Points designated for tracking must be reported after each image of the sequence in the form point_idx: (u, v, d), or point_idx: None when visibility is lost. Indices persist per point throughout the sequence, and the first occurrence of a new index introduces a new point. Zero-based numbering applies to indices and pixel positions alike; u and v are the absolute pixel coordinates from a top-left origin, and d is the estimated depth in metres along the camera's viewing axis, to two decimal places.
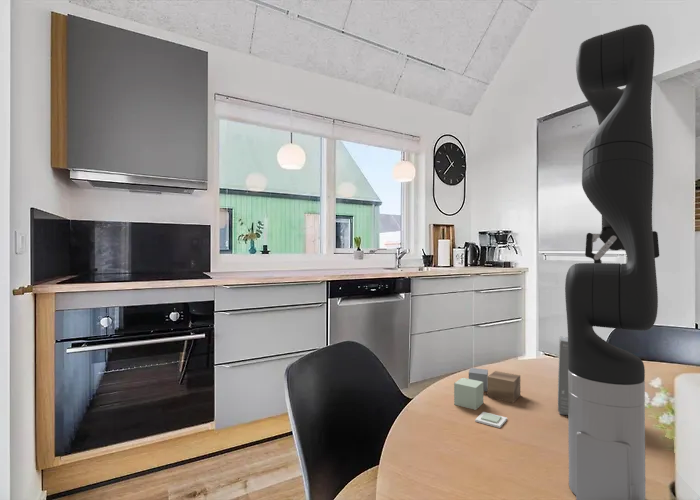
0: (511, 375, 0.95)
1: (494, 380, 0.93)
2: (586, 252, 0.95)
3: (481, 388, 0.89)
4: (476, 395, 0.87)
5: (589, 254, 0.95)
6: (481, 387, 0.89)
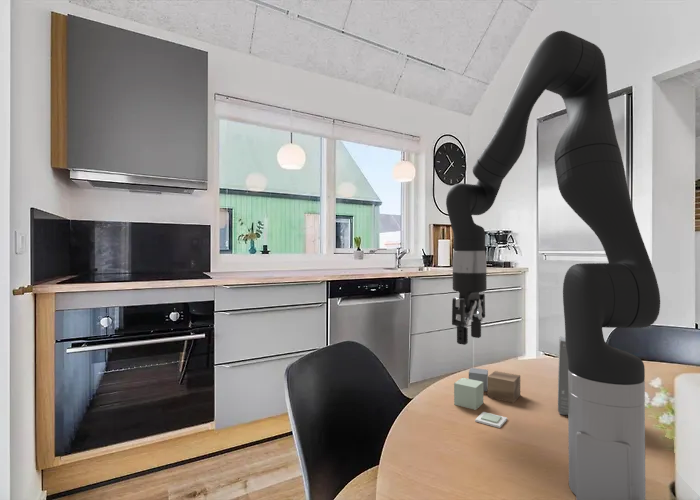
0: (511, 375, 0.95)
1: (494, 380, 0.93)
2: (462, 321, 0.84)
3: (481, 388, 0.89)
4: (476, 396, 0.87)
5: (464, 323, 0.84)
6: (481, 387, 0.89)
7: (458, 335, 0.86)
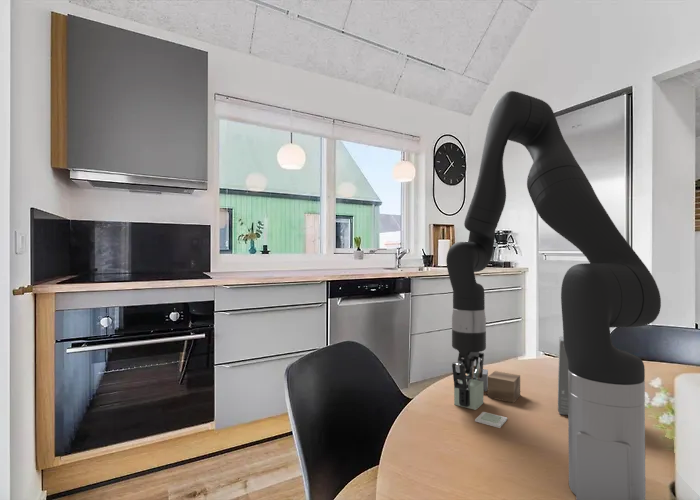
0: (511, 375, 0.95)
1: (494, 380, 0.93)
2: (464, 385, 0.84)
3: (481, 388, 0.89)
4: (476, 395, 0.87)
5: None
6: (481, 387, 0.89)
7: (460, 397, 0.87)
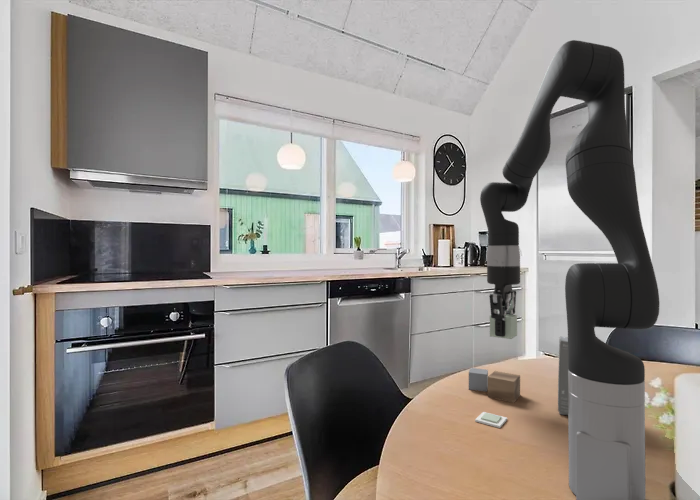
0: (511, 375, 0.95)
1: (494, 380, 0.93)
2: (501, 315, 0.89)
3: (515, 320, 0.94)
4: (511, 325, 0.92)
5: (503, 316, 0.90)
6: (515, 319, 0.94)
7: (496, 328, 0.92)
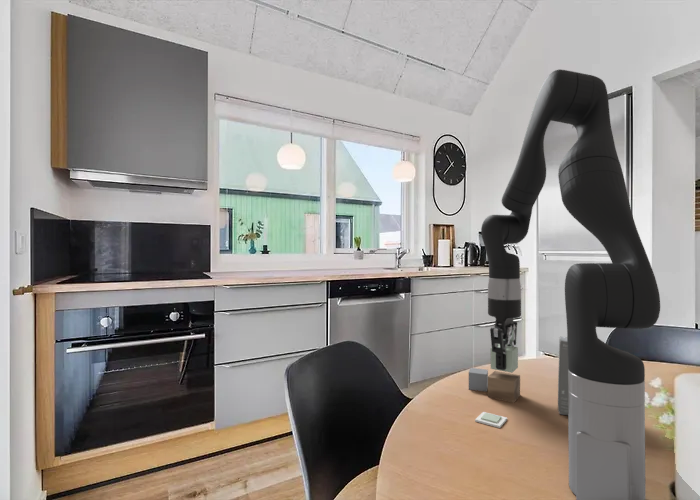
0: (511, 375, 0.95)
1: (494, 380, 0.93)
2: (502, 349, 0.89)
3: (516, 353, 0.94)
4: (512, 359, 0.92)
5: (503, 350, 0.90)
6: (516, 352, 0.94)
7: (497, 361, 0.92)
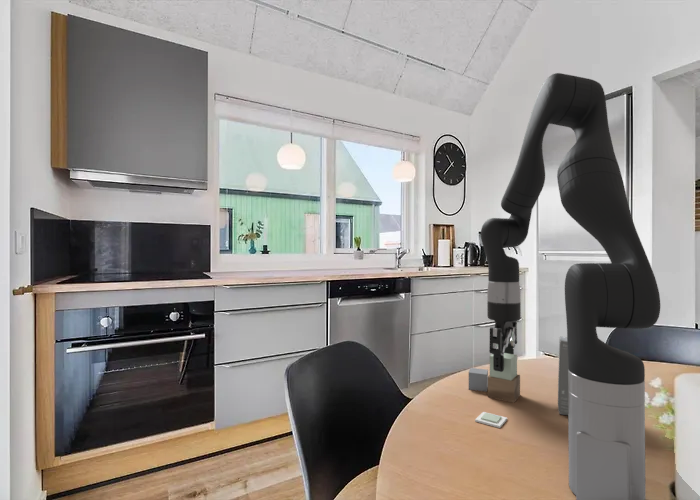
0: None
1: (494, 380, 0.93)
2: (500, 349, 0.88)
3: (515, 360, 0.94)
4: (511, 367, 0.91)
5: None
6: (515, 359, 0.94)
7: (495, 362, 0.91)
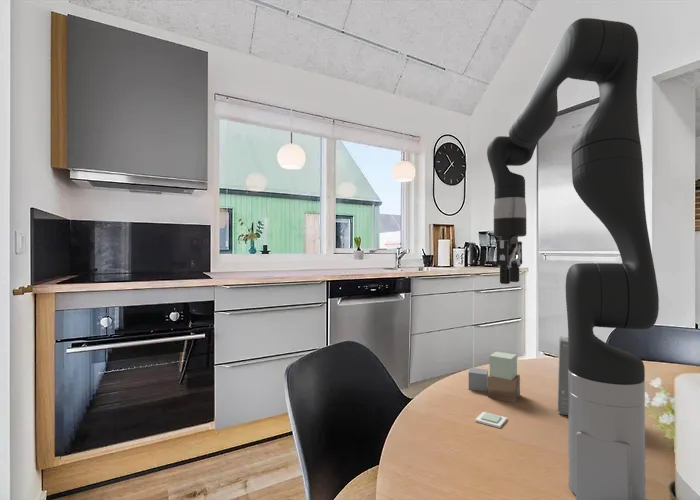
0: None
1: (494, 380, 0.93)
2: (507, 260, 0.90)
3: (515, 360, 0.94)
4: (512, 366, 0.92)
5: None
6: (515, 359, 0.94)
7: (501, 275, 0.92)
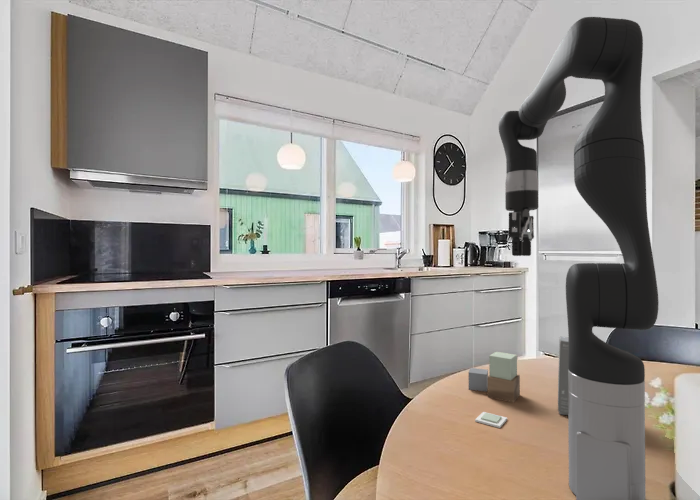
0: None
1: (494, 380, 0.93)
2: (519, 231, 0.91)
3: (515, 360, 0.94)
4: (511, 367, 0.92)
5: None
6: (515, 359, 0.94)
7: (514, 247, 0.93)
